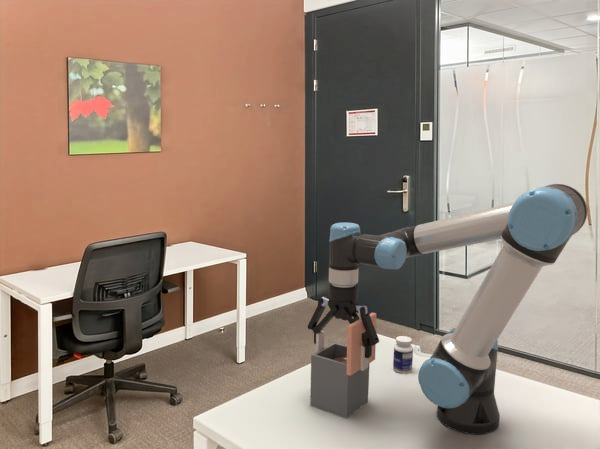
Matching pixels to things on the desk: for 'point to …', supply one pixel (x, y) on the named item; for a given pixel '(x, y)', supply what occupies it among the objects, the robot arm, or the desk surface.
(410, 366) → the pill bottle
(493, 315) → the robot arm
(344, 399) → the bin
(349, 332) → the lid
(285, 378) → the desk surface
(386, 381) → the desk surface
